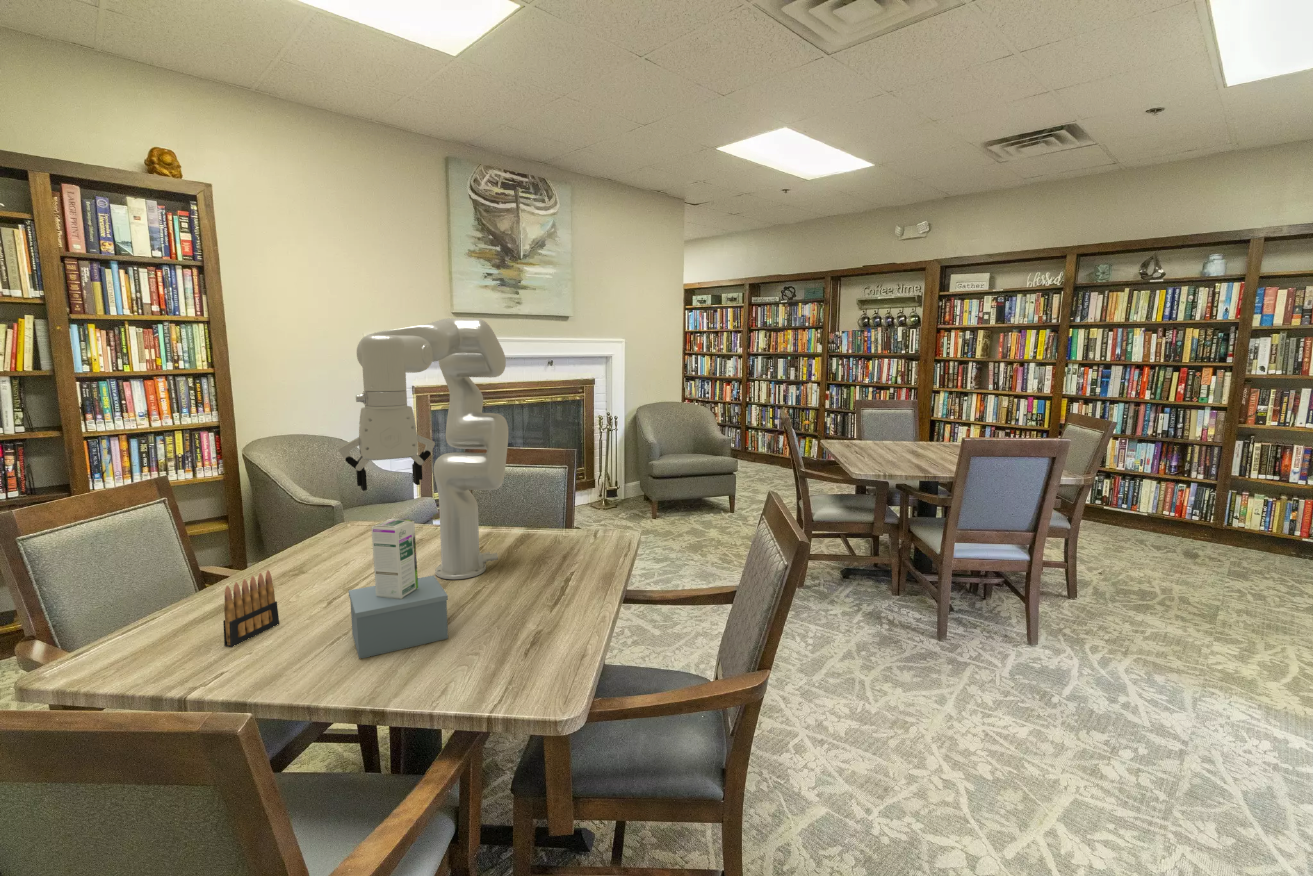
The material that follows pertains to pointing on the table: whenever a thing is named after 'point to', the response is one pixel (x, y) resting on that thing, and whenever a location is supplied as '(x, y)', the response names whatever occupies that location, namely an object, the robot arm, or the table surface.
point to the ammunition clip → (249, 610)
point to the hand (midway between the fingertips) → (390, 486)
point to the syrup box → (395, 558)
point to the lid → (371, 604)
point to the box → (399, 629)
